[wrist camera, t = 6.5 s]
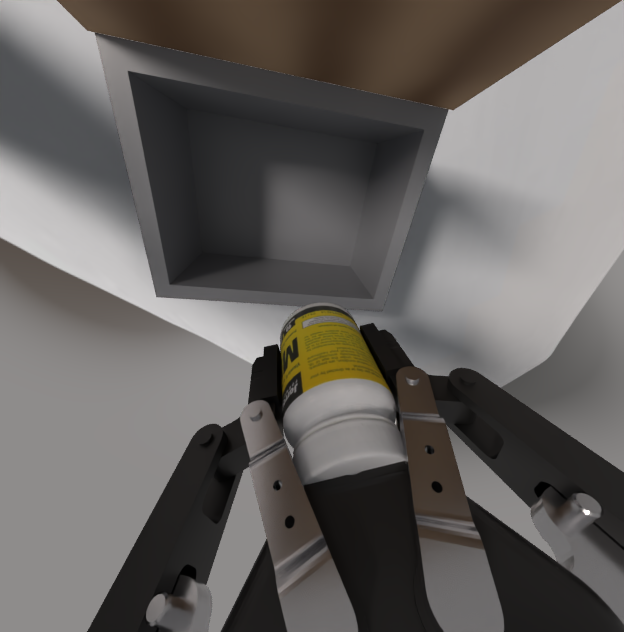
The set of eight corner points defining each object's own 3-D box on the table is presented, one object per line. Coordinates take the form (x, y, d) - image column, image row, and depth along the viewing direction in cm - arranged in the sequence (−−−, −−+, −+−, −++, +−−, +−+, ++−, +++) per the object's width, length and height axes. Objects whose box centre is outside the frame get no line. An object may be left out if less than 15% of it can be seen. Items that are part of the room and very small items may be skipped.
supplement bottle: (278, 301, 13) (282, 457, 6) (359, 298, 14) (451, 437, 7) (280, 364, 16) (286, 527, 8) (349, 360, 16) (408, 508, 9)
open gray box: (194, 258, 28) (156, 297, 19) (173, 90, 20) (94, 32, 12) (355, 273, 31) (382, 311, 23) (388, 131, 23) (448, 109, 15)
